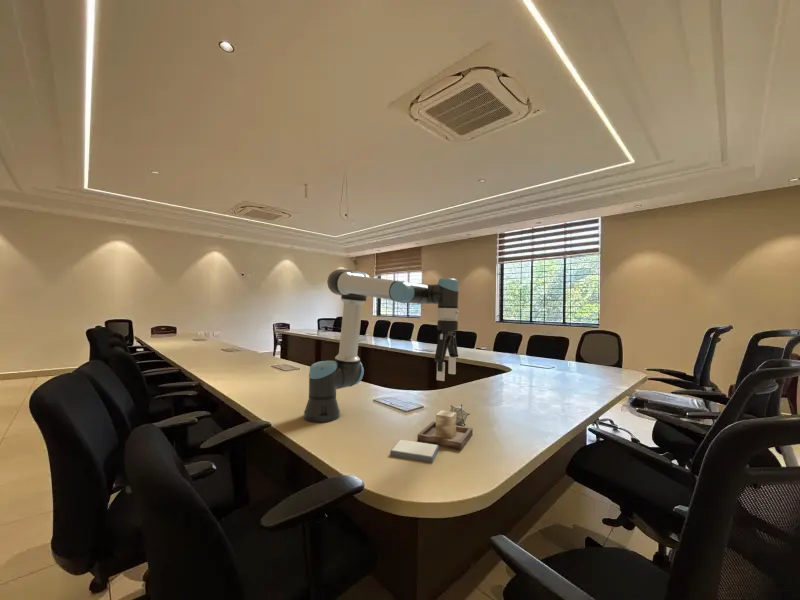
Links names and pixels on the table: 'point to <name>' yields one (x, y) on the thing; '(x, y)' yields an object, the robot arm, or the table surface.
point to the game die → (460, 414)
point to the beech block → (446, 424)
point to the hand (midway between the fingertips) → (446, 377)
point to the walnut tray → (456, 443)
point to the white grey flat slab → (415, 450)
